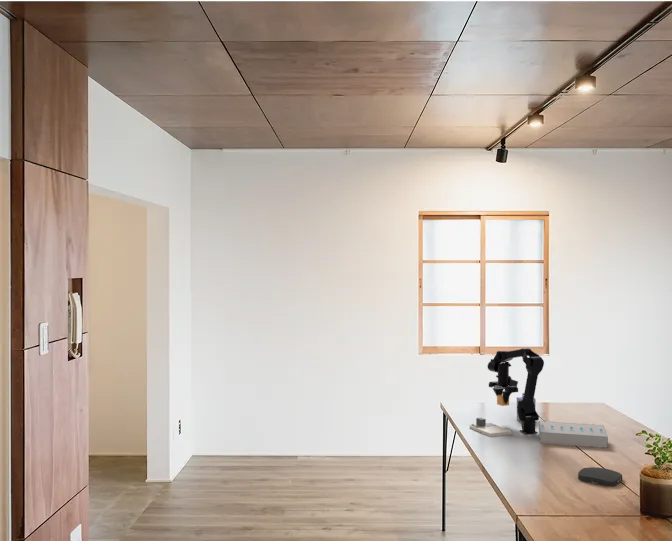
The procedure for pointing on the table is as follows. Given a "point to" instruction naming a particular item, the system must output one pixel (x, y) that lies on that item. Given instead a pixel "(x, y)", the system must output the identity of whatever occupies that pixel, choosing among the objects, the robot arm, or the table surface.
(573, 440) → the warehouse
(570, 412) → the table surface
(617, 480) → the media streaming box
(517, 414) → the ink cartridge box
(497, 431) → the board
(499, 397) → the cap
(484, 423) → the block
